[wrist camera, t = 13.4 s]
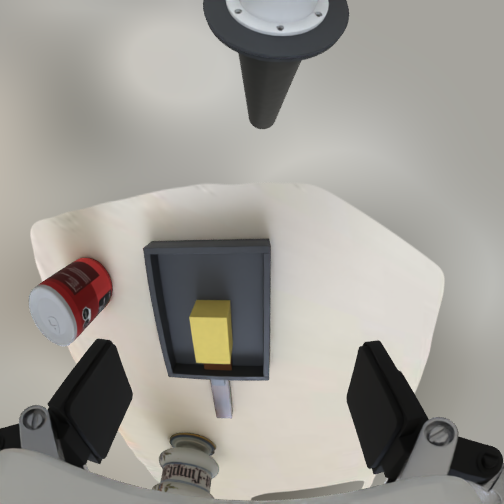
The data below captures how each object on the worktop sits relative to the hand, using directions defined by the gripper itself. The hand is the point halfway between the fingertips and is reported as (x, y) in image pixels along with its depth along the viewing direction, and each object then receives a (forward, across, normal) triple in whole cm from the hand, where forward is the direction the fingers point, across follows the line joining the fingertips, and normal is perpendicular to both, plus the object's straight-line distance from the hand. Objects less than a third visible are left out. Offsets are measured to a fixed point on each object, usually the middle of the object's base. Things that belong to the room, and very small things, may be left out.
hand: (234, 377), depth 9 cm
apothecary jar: (+24, +13, +45) cm, 53 cm away
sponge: (+24, +5, +12) cm, 27 cm away
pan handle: (+24, +5, +27) cm, 36 cm away
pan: (+24, +5, +11) cm, 27 cm away
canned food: (+24, +23, +7) cm, 34 cm away
